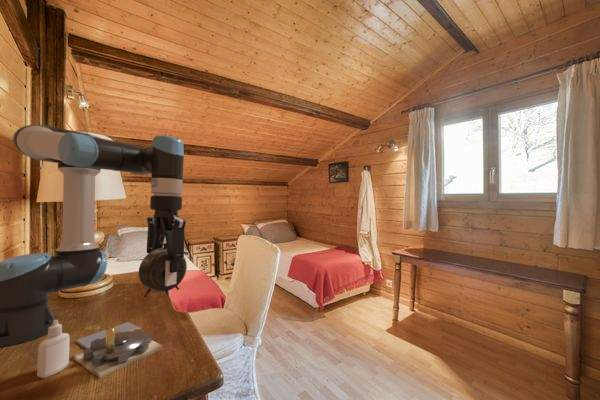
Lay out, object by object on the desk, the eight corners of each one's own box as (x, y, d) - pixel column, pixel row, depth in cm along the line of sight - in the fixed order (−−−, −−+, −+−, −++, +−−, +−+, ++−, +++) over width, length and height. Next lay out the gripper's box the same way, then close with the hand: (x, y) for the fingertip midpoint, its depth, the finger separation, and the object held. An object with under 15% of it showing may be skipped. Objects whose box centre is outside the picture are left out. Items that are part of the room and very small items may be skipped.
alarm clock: (179, 287, 75) (180, 231, 76) (189, 291, 72) (189, 231, 73) (137, 297, 67) (138, 233, 68) (146, 302, 63) (147, 234, 64)
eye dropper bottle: (70, 369, 63) (72, 319, 63) (37, 381, 59) (40, 327, 59) (67, 362, 66) (69, 314, 66) (35, 372, 62) (38, 321, 62)
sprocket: (83, 374, 60) (85, 339, 60) (82, 346, 71) (84, 317, 71) (157, 351, 69) (158, 321, 70) (145, 330, 81) (146, 304, 81)
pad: (75, 342, 75) (75, 339, 75) (128, 323, 87) (128, 321, 87) (88, 350, 71) (88, 348, 71) (141, 330, 83) (141, 327, 83)
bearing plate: (72, 357, 68) (72, 354, 68) (133, 333, 81) (134, 330, 81) (99, 378, 60) (99, 374, 60) (162, 348, 73) (162, 345, 73)
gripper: (133, 194, 71) (130, 279, 71) (175, 194, 62) (171, 293, 61) (160, 195, 78) (157, 273, 77) (201, 196, 68) (198, 285, 68)
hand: (163, 282), depth 69 cm, fingers closed on alarm clock, 5 cm apart
